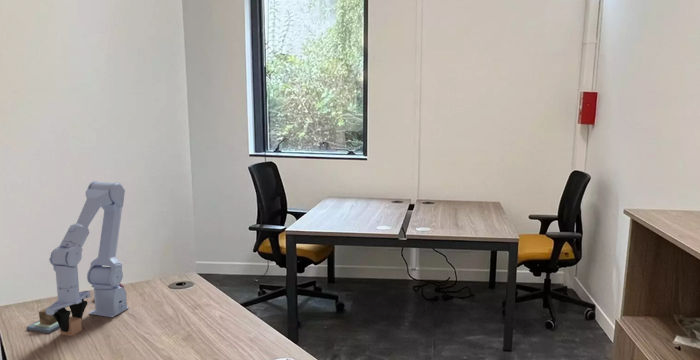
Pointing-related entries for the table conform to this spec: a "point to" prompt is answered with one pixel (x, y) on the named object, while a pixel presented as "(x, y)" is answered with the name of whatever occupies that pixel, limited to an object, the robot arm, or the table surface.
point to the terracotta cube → (73, 326)
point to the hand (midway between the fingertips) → (71, 327)
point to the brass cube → (46, 318)
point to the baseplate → (43, 327)
